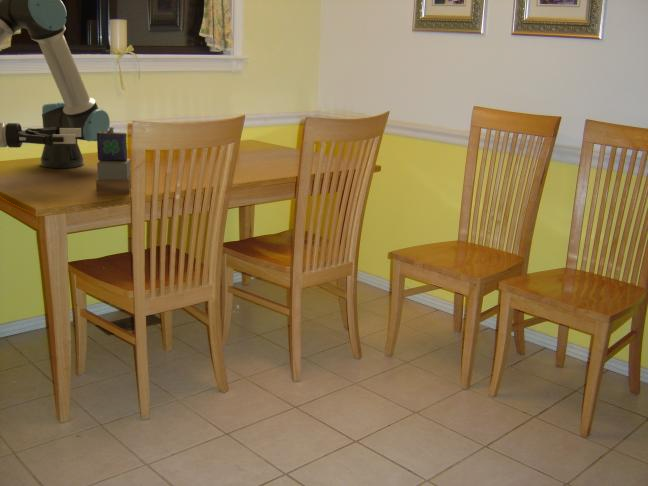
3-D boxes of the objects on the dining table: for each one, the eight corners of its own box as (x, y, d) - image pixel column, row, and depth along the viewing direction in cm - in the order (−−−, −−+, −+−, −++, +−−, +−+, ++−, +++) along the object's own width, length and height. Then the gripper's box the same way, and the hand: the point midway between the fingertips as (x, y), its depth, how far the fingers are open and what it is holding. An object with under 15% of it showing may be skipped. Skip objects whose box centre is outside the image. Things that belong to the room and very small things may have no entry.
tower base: (100, 188, 250) (99, 173, 248) (131, 187, 251) (130, 173, 250) (96, 194, 240) (96, 179, 239) (129, 194, 242) (128, 179, 241)
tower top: (102, 173, 248) (101, 158, 246) (130, 173, 249) (130, 158, 247) (98, 179, 239) (97, 163, 238) (127, 179, 240) (126, 163, 239)
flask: (127, 159, 245) (126, 126, 242) (126, 161, 242) (125, 128, 239) (98, 159, 244) (96, 126, 241) (96, 161, 241) (95, 127, 238)
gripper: (16, 141, 248) (83, 141, 252) (-2, 154, 225) (73, 154, 228) (14, 118, 246) (82, 118, 250) (-4, 128, 223) (71, 129, 226)
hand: (78, 135), depth 239 cm, fingers open, 13 cm apart
